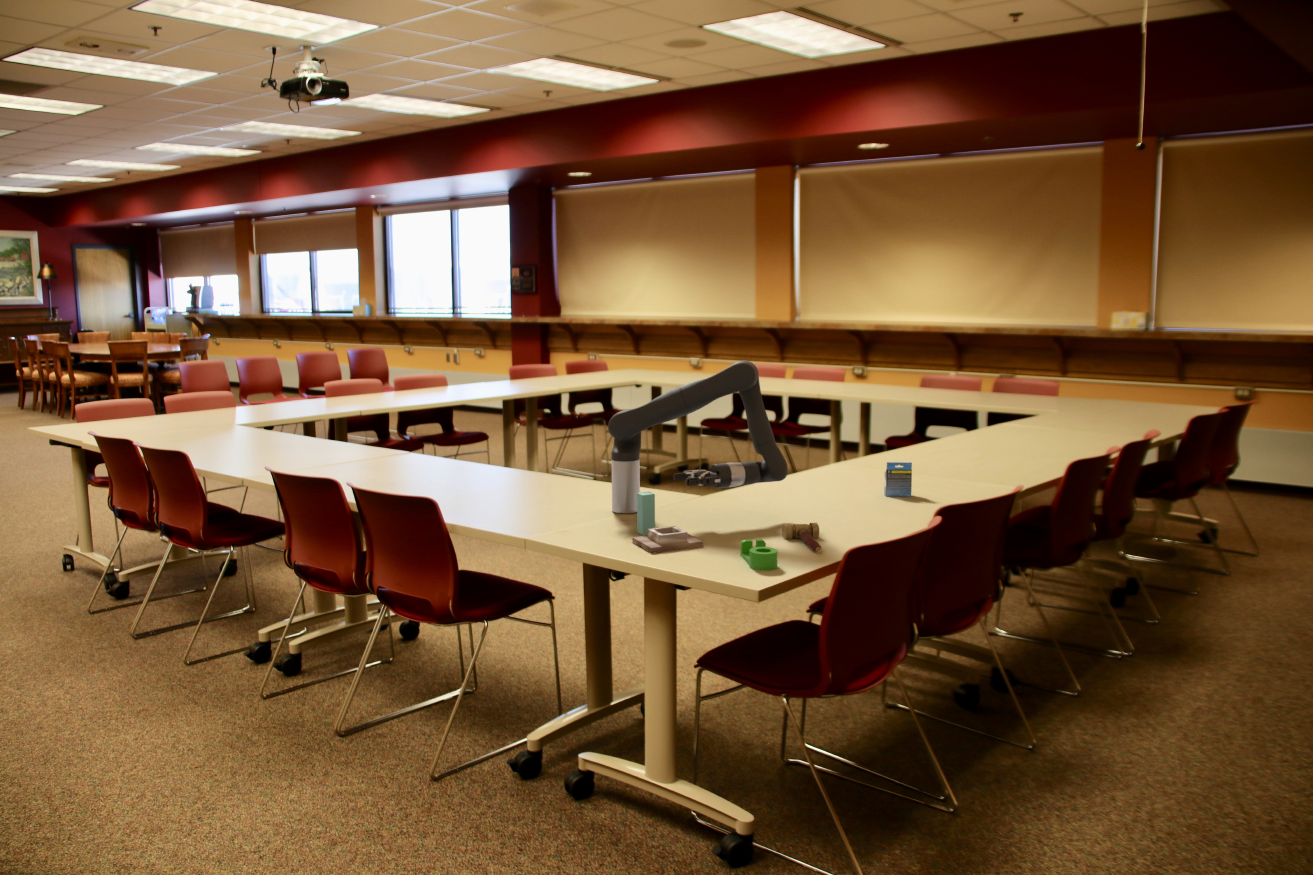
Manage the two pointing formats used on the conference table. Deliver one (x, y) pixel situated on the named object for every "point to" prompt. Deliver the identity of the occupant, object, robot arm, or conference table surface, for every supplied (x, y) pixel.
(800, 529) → the gavel
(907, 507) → the conference table surface
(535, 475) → the conference table surface
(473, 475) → the conference table surface
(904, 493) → the label tape cartridge
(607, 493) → the conference table surface
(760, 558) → the green slotted bracket
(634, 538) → the walnut socket plate
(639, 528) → the teal post
